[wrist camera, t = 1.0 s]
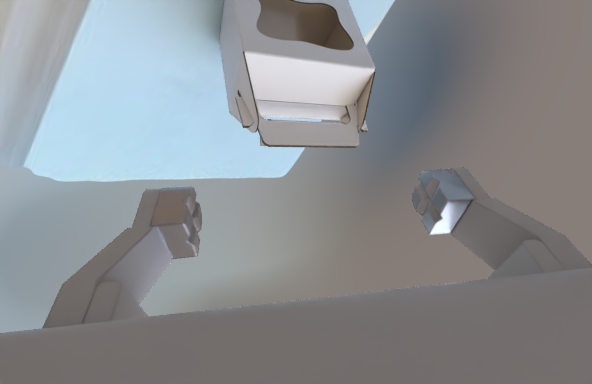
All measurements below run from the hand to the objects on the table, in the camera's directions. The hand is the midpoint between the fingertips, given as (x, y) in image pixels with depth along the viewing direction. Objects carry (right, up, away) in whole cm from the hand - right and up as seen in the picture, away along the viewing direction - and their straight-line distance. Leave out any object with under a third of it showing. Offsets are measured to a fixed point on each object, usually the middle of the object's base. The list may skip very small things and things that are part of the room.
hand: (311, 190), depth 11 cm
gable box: (-3, +32, +45) cm, 56 cm away
